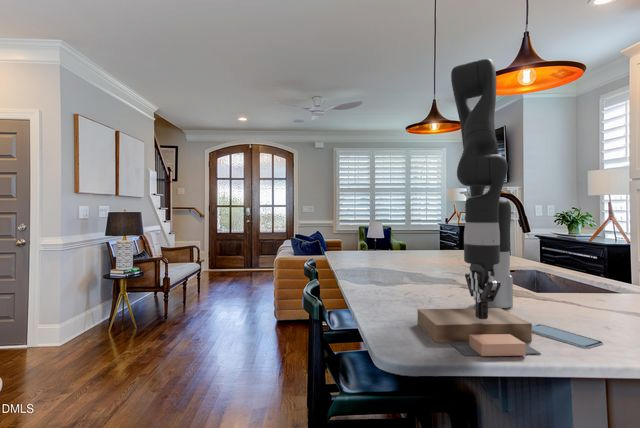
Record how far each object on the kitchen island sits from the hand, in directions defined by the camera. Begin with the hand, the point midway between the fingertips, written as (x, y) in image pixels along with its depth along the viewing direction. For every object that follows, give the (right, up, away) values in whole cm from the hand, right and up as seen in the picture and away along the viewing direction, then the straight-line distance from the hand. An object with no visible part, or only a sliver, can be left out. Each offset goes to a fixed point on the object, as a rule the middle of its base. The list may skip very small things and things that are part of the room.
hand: (481, 318), depth 87 cm
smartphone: (+20, -6, +3) cm, 21 cm away
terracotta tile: (0, -2, -7) cm, 7 cm away
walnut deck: (0, -5, +6) cm, 8 cm away
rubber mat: (0, -5, -5) cm, 7 cm away
